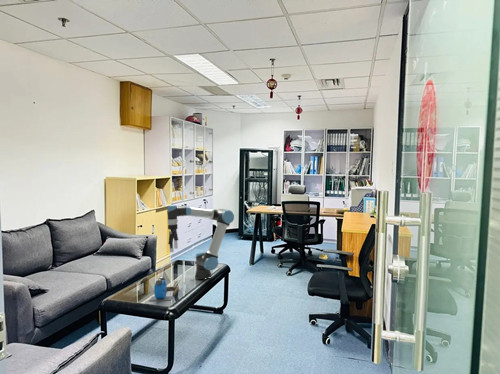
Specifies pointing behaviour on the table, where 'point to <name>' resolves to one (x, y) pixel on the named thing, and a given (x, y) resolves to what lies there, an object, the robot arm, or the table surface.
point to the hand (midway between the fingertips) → (173, 250)
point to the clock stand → (173, 289)
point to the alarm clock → (160, 288)
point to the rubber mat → (167, 298)
